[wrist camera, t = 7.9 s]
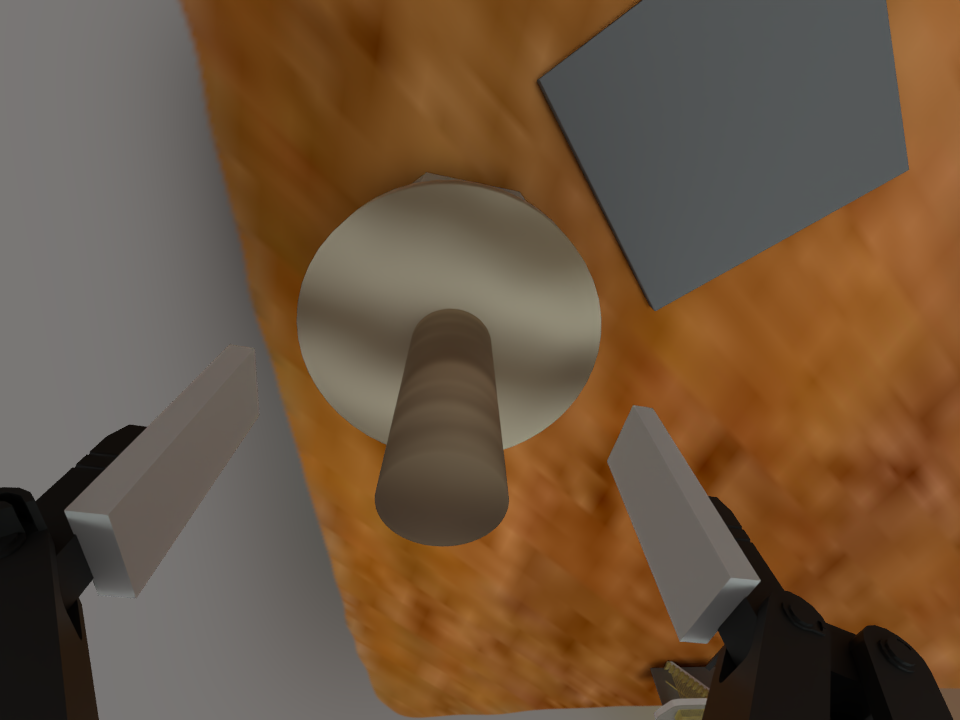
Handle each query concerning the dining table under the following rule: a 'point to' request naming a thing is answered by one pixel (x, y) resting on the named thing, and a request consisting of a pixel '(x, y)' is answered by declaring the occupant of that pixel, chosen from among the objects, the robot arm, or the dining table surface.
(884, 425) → the dining table surface
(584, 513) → the dining table surface
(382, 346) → the lid
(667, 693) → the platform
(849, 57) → the mat
